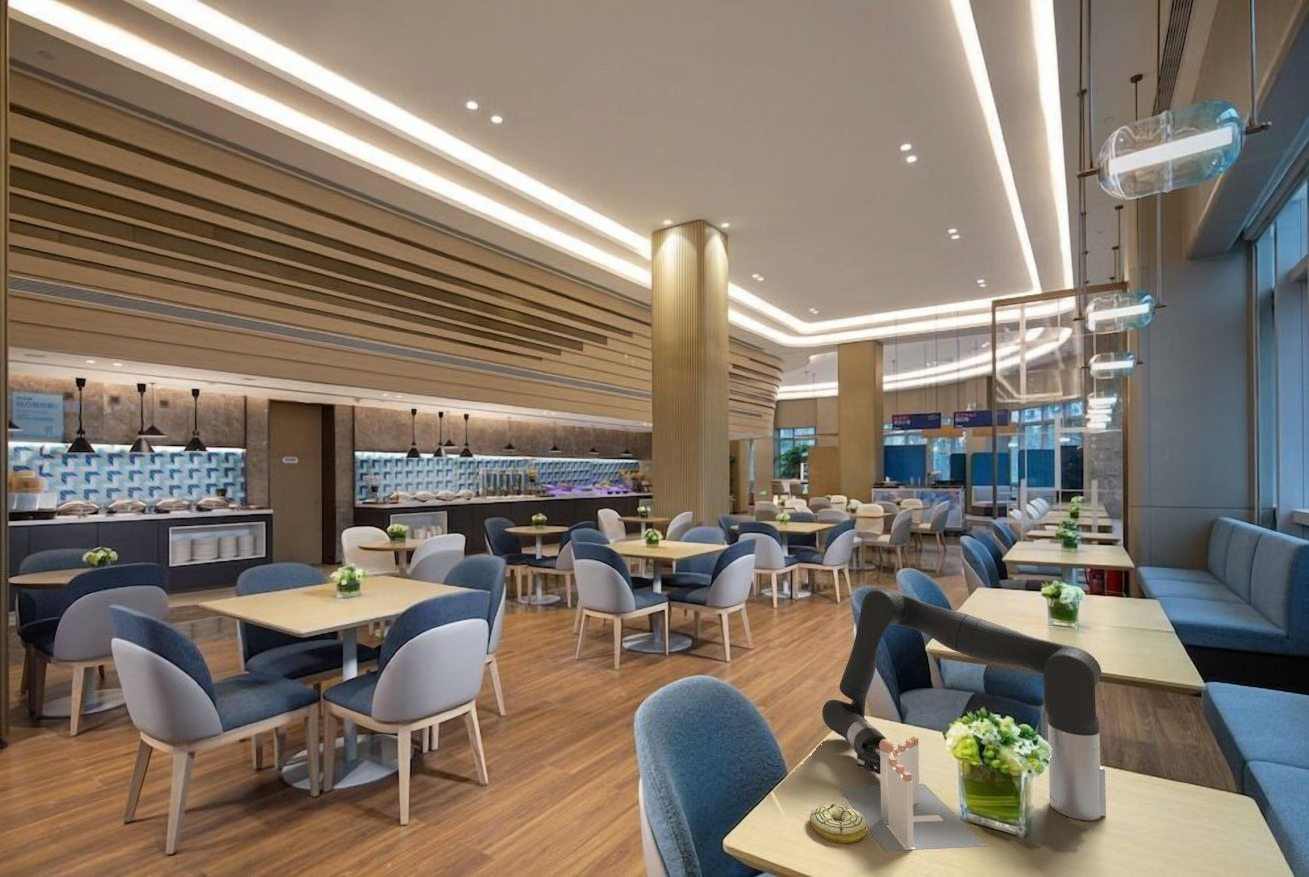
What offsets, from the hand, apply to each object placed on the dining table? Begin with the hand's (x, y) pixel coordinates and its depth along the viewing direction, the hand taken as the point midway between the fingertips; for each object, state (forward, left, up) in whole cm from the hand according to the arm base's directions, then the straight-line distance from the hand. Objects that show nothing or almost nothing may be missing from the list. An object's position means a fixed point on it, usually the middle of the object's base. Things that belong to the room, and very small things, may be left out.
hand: (901, 778), depth 137 cm
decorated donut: (+16, +7, -7) cm, 19 cm away
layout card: (0, +3, -6) cm, 7 cm away
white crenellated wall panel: (0, +1, -5) cm, 6 cm away
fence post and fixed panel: (+5, +9, -6) cm, 12 cm away
